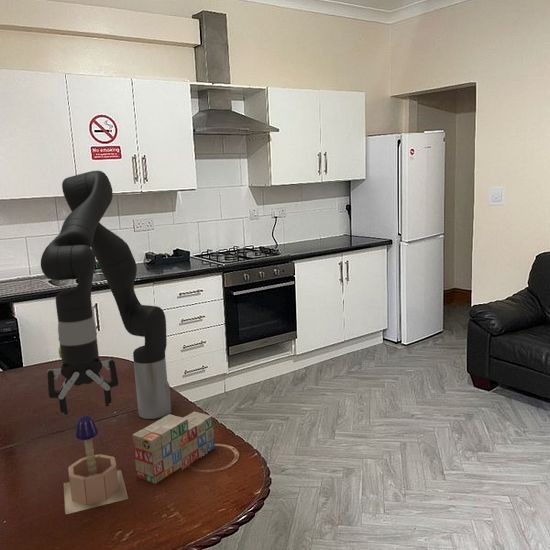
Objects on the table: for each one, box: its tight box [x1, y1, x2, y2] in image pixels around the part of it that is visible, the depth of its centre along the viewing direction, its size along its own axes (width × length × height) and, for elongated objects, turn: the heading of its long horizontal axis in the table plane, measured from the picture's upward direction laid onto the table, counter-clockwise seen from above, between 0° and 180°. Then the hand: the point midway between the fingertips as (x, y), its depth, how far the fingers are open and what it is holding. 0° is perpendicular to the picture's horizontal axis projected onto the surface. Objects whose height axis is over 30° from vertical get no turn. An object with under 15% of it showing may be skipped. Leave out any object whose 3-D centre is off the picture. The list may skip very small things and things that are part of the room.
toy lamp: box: [75, 415, 99, 476], centre depth 123 cm, size 5×5×17 cm
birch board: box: [63, 469, 129, 515], centre depth 125 cm, size 13×13×1 cm
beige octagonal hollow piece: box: [67, 453, 119, 505], centre depth 124 cm, size 10×10×6 cm
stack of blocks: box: [132, 411, 216, 485], centre depth 136 cm, size 21×6×12 cm, turn 146°
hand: (86, 409), depth 121 cm, fingers open, 8 cm apart
